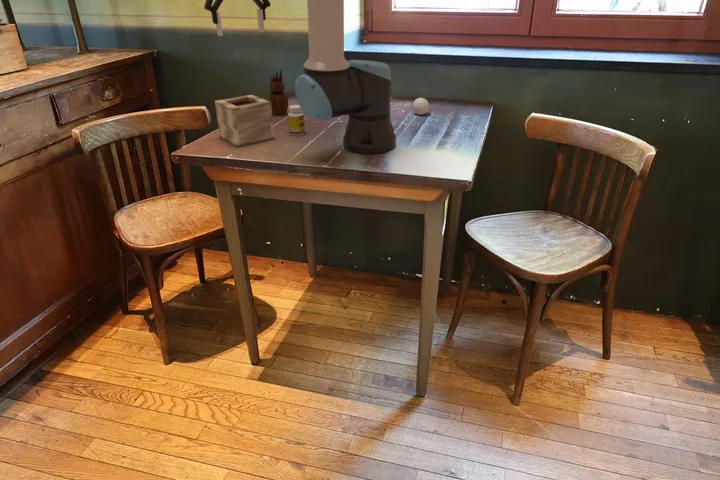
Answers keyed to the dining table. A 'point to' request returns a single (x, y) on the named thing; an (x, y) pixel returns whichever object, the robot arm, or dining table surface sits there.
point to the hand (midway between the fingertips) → (241, 33)
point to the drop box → (245, 120)
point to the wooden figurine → (278, 95)
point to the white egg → (420, 106)
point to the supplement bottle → (296, 120)
